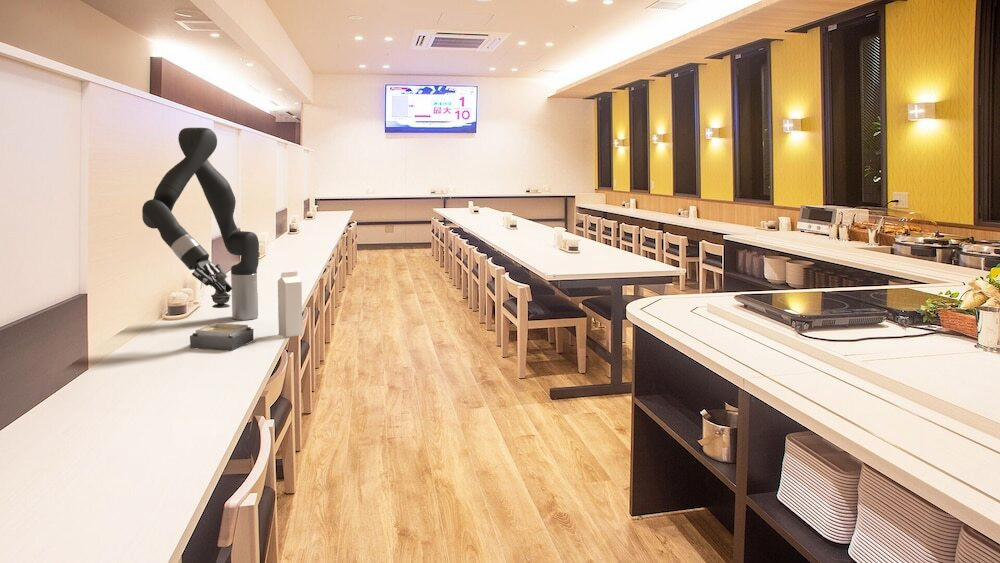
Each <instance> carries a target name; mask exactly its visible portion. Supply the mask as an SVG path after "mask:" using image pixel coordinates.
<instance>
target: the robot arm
mask: <svg viewBox="0 0 1000 563" xmlns="http://www.w3.org/2000/svg"><path fill="white" fill-rule="evenodd" d="M177 140H178V145H179V147H180V149H181V151H182V153H183V155H184V156H185V157H184V158H182V160H180V161H179V162H178V163H177V164H176V165H174V166H173V167H172V168H170V169H169V170H168V171H167V172H166V173H165V174H164V176H163V177H162V179H161V181H160V182H159V184H158V185H157V187H156V189H155V190H154V196H153V198H151V199H149V200H146V201H145V202H144V203H143V206H142V210H141V211H142V212H141V213H142V215H141V216H142V222H143V224H145V226H146V227H148V228H149V229H155V230H156V229H157V230H158V232H159V235H160V238H161V239H162V240H163V241H164V243H165V244H166V245H167V246H168V247H169V248H170V250H172V251H173V253H174V255H175V256H176V257H177V258H178V259H179V260H180V261H181V262H182V264H183V265H185V266H186V268H187V269H188V270H190V271H193V272H191V275H192V276H193V277H194V278H195V279H196V280H198V281H200V282H201V283H202V284H203V285H204V286H206V287H208V286H210V287H212V288H214V290H215V291H217V292H218V293H219V294H223V293H224V292H225V291H226V293H230V292H231V310H232V311H231V315H232V317H231V318H232V319H233V320H235V321H236V320H238V321H244V320H246V321H247V320H248V321H249V320H254V319H258V318H259V296H258V295H259V293H258V271H257V270H258V267H259V262H260V261H259V259H260V258H259V256H260V241H259V238H258V235H257V234H256V233H255V232H252V231H242V230H241V231H240V230H239V229H238V227H237V225H236V222H235V219H234V215H235V214H234V212H235V209H236V203H237V202H236V197H235V194H234V191H233V189H232V187H231V185H230V182H229V181H228V180H227V179H226V178H225V176H224V175H222V174H221V172H219V171H218V170H217V169H216V168H215V167H214V166H213V165H212V164H211V162H210V161H209V158H210V157H211V156H212V154H213V153H214V152H215V150H216V148H217V145H218V138H217V134H216V133H215V131H213V130H212V129H210V128H208V127H185V128H182V129H181V130H180V131H179V133H178V139H177ZM194 175H195V176H196V178H197V181H198V183H199V184H200V187H201V189H202V192H203V193H204V194H203V195H204V196H205V198H206V201H207V203H208V205H209V207H210V210H211V211H212V214H213V216H214V219H215V220H216V223H217V225H218V228H219V231H220V234H221V237H222V238H221V239H222V240H223V241H222V242H223V244H224V247H225V249H226V250H227V252H228V253H229V254H231V255H233V256H240V261H239V262H238V263H236V264H234V265H232V266H231V267H230V281H231V284H230V283H229V282H228V281H227V280H226V279H227V278H228V276H227V274H226V273H225V272H226V271H225V270H224V269H223V267H222V266H221V264H219V263H217V264H216V265H215V264H214V263H213V262H211V261H210V259H209V257H210V255H209V253H208V252H207V251H206V250H205V248H203V246H201V244H200V243H199V242H198V241H197V240H196V239H195V238H194V237H193V236H191V235H190V233H189V232H187V230H186V229H185V228H184V227H183V226H181V224H180V222H179V221H178V220H177V219H176V218H177V217H175V216H174V214H173V213H172V211H173V208H174V206H175V205H176V202H177V201H178V199H179V198H180V196H181V195H182V193H183V191H184V189H185V188H186V186H187V185H188V183H189V181H190V180H191V179H192V178H193V177H194ZM220 270H221V272H222V273H224V274H225V283H226V289H225V288H224V287H223V286H222V285H221V284H220V283H219V282H217V280H216V274H217V273H219V272H220Z"/></svg>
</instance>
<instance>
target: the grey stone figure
mask: <svg viewBox="0 0 1000 563" xmlns="http://www.w3.org/2000/svg"><path fill="white" fill-rule="evenodd" d="M225 274H226V273H225ZM225 274H224V273H222V272H221V270H220V272H219V273H217V274H215V275H216V280H217V282H219V283H220V284H221V285H222V286H223V287H224V288H225V289H226V283H225V280H226V279H225ZM210 297H211V299H212V302H214V305H212V308H213V309H225V308H229V307H231V305H230V304H228V302H230V297H232V294H230V293H229V294H228V292H226V291H225V292H224V293H223V294H219V293H218V292H217V291H216V290H215V291H214V293H213V294H211V295H210Z"/></svg>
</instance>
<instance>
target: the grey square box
mask: <svg viewBox="0 0 1000 563" xmlns="http://www.w3.org/2000/svg"><path fill="white" fill-rule="evenodd" d="M253 340H254V328H252V327H251V326H249V325H248V324H236V323H235V324H234V323H217V322H215V323H212V324H210V325H207V326H204V327H201V328H199V329H196V330H195V332H194V333H193V332H192V334H191V335H190V336H189V343H190V344H189V346H190V347H189V348H190V349H195V348H198V349H199V350H210V349H211V350H213V351H226V350H228V351H227V352H229V351H230V352H232V351H235V350H236V349H239V348H241V347H243V346H245V344H246V345H247V343H248V344H250V343H251V341H252V342H254V341H253ZM249 342H250V343H249Z"/></svg>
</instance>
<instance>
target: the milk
mask: <svg viewBox="0 0 1000 563" xmlns="http://www.w3.org/2000/svg"><path fill="white" fill-rule="evenodd" d="M298 273H299V272H298V271H286V272H281V274H280V276H281V277H280V278H279V279H278V280H277V304H278V306H277V309H278V312H277V314H278V316H277V317H278V319H277V321H278V335H280V336H282V337H284V338H290V337H297V336H299V337H300V336H303V301H302V300H303V297H302V296H303V290H302V288H303V287H302V286H303V285H302V283H303V282H302V280H301V278H300V277H299V274H298Z"/></svg>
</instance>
